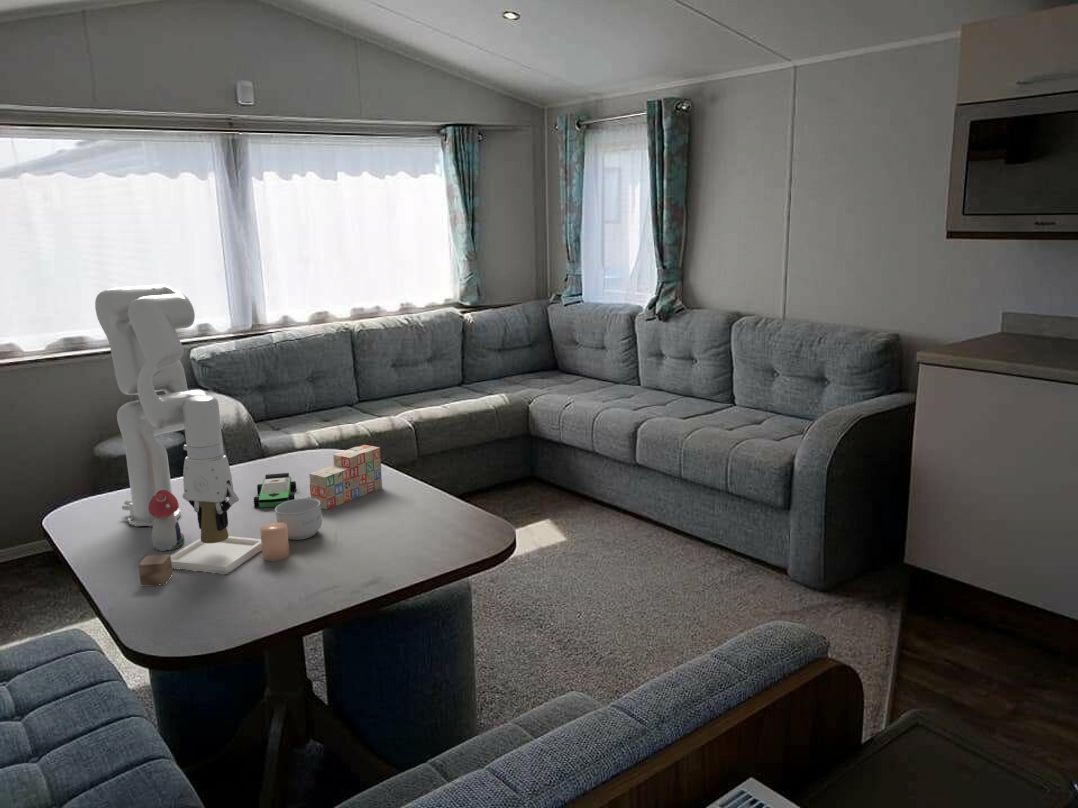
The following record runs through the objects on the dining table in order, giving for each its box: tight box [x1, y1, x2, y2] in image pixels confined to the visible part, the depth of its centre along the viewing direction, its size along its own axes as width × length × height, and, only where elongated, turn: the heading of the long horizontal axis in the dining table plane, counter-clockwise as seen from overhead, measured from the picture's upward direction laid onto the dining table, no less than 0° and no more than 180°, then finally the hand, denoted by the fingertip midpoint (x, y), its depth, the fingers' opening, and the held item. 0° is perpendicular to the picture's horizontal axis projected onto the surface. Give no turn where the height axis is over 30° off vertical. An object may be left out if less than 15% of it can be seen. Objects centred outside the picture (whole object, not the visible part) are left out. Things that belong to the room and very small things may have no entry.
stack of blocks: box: [309, 444, 383, 510], centre depth 233 cm, size 21×6×12 cm, turn 147°
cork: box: [198, 502, 230, 543], centre depth 192 cm, size 6×6×11 cm
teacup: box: [274, 495, 323, 541], centre depth 207 cm, size 14×11×8 cm
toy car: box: [253, 472, 297, 509], centre depth 234 cm, size 10×19×5 cm, turn 14°
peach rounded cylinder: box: [259, 521, 290, 562], centre depth 194 cm, size 6×6×7 cm
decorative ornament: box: [148, 490, 185, 552], centre depth 199 cm, size 9×7×15 cm
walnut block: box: [138, 554, 174, 586], centre depth 182 cm, size 5×5×5 cm
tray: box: [170, 535, 262, 575], centre depth 194 cm, size 16×16×2 cm
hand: (213, 526), depth 193 cm, fingers closed on cork, 4 cm apart
